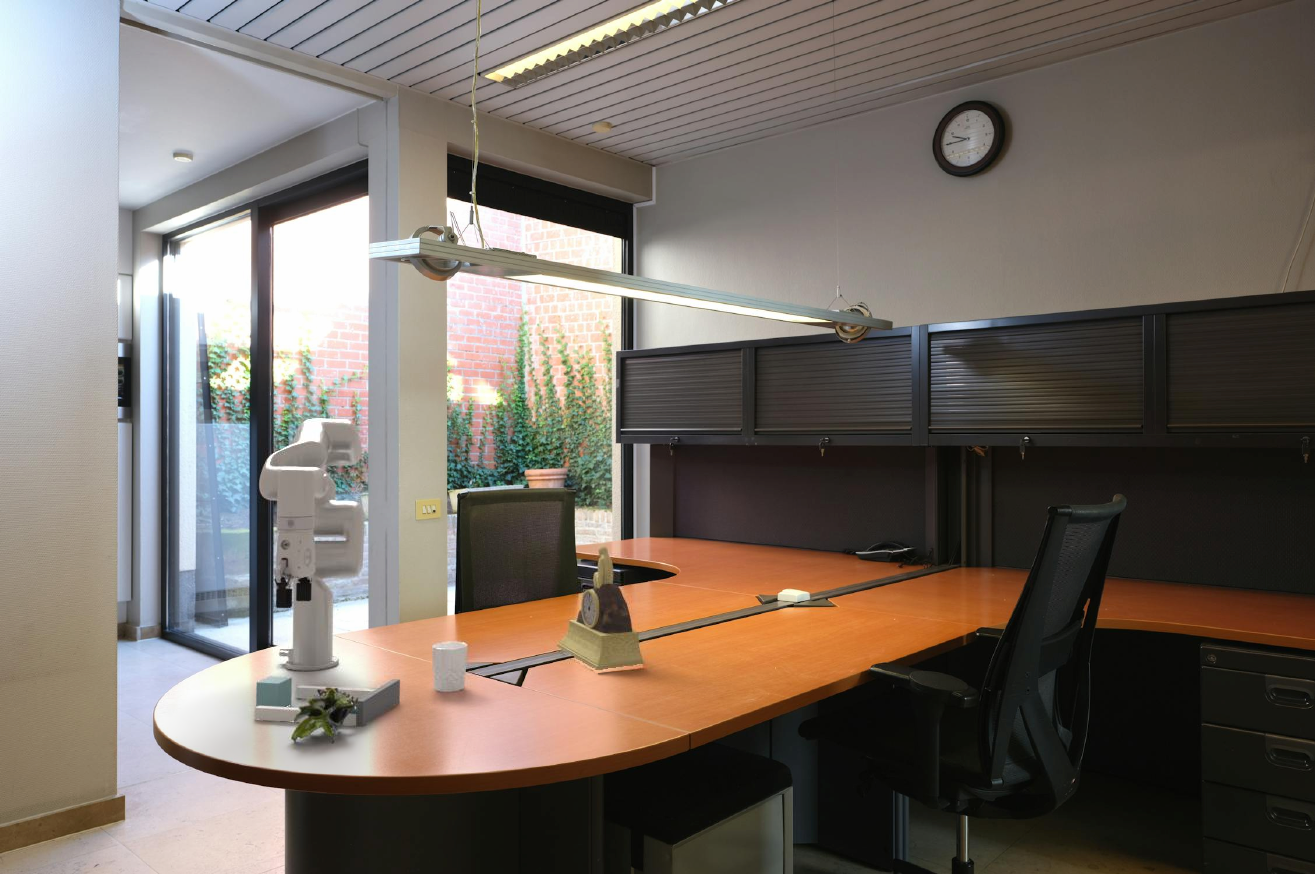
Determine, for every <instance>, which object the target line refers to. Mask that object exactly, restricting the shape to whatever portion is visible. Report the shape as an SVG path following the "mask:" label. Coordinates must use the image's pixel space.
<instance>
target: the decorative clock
mask: <svg viewBox="0 0 1315 874" xmlns="http://www.w3.org/2000/svg"><path fill="white" fill-rule="evenodd" d="M597 551H598V555H599V559H598V563H597V571H596V572H594V574H593V577H592V578H593V579H592V581H593V586H594V587H593V588H591V589H590V588H589V589H585V590H584V591H583V594H582V597H581V604H580V607H581V608H580V610H579V611H578V614H577V618H576V619H569V620H568V628H567V632H566V634H565V636H564V637H563V638H562V639H560V641H559V642H556V647H557V646H558V647H559V648H561V649H563V650H565V651H566V652H568V653H570V654H571V655H572V656H574V657H575V658H576V659H578V660H580V661H582V662H583V663H585V664H587V665H588V666H590V667H592V668H595V670H603V669H608V668H616V667H623V666H633V665H637V664H644V663H645V662H644V660H643V655H642V652H641V648H640V639H639V637H640V636H639V634H640V633H639V632H638V631H636V630H635V629H633V626H632V618H631V614H630V611H629V606H628V603H627V601H626V599H625V597H624V594H623V592H622V590H621V588H620V587H619V586H618V585H616V584H613V583H614V566H613V561H612V558H611V557H610V555H609V552H608V547H607V546H605V545H601V546H599V548H598V549H597Z"/></svg>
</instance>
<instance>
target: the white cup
mask: <svg viewBox="0 0 1315 874" xmlns="http://www.w3.org/2000/svg"><path fill="white" fill-rule="evenodd" d="M431 648H432V668H433V669H432V670H433V678H434V679H433V682H434V683H433V687H434V690H435V691H437V692H442V693H453V691H454V692H458V691H461V689H462V690H463V689H464V688H465V679H466V674H467V673H466V672H467V671H466V670H467V655H468V644H467V643H466V642H464V641H463V642H461V641H442V642H437V643H434V644H433V645H432V647H431Z"/></svg>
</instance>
